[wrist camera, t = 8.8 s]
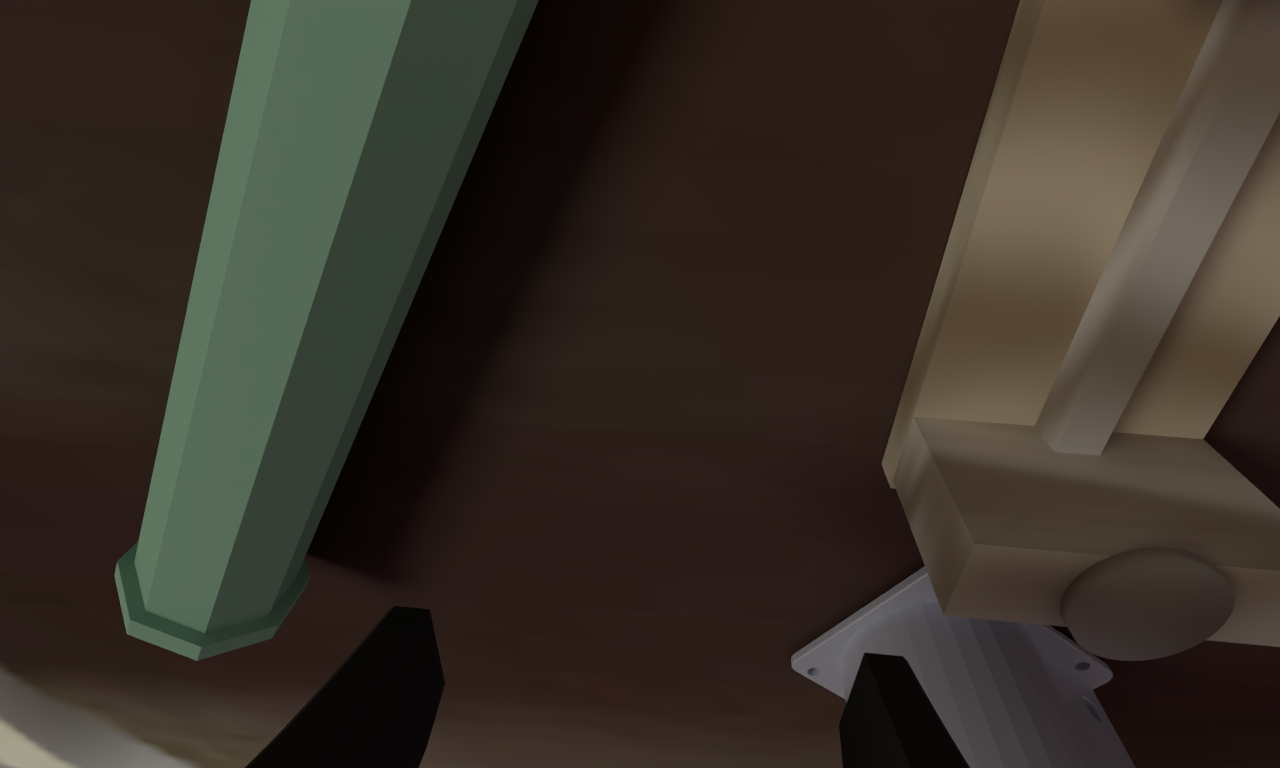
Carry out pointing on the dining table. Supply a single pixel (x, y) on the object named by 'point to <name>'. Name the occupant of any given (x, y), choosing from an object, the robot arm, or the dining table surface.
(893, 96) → the dining table surface
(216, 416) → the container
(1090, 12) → the rail
